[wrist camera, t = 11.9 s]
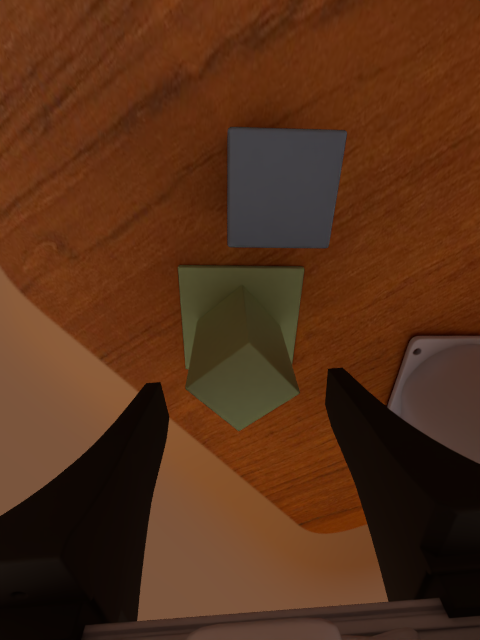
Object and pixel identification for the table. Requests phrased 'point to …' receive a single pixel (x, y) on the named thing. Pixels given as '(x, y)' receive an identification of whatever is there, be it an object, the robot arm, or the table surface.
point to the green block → (240, 361)
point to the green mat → (220, 281)
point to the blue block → (282, 186)
